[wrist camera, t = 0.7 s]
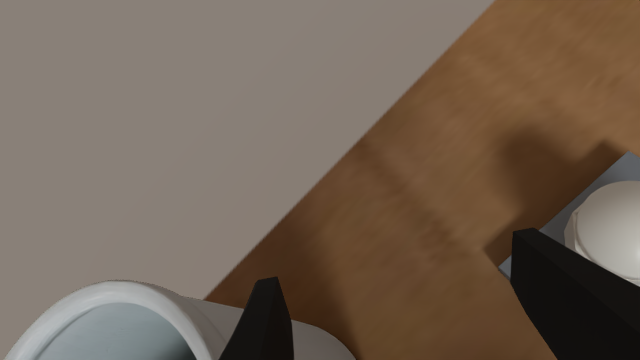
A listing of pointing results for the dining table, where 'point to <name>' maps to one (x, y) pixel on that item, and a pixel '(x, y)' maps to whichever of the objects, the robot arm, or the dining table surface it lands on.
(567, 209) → the post board
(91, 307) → the utensil holder
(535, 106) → the dining table surface
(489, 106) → the dining table surface
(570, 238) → the cap
